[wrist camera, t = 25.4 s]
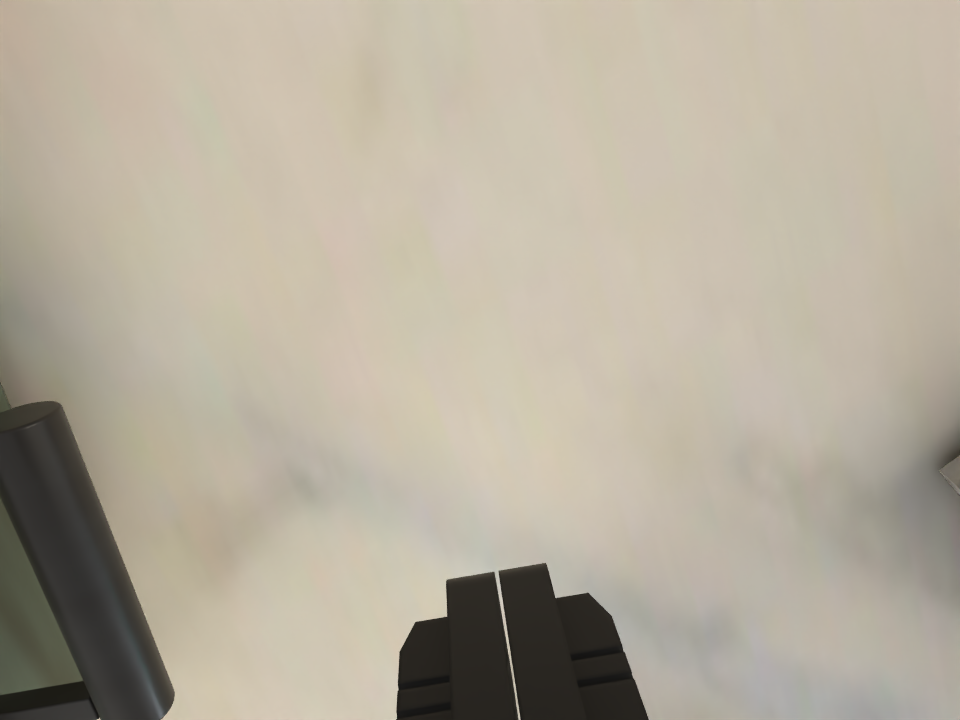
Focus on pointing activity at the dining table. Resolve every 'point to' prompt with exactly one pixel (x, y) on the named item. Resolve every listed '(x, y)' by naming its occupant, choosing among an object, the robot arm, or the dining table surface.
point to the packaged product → (952, 473)
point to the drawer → (66, 587)
